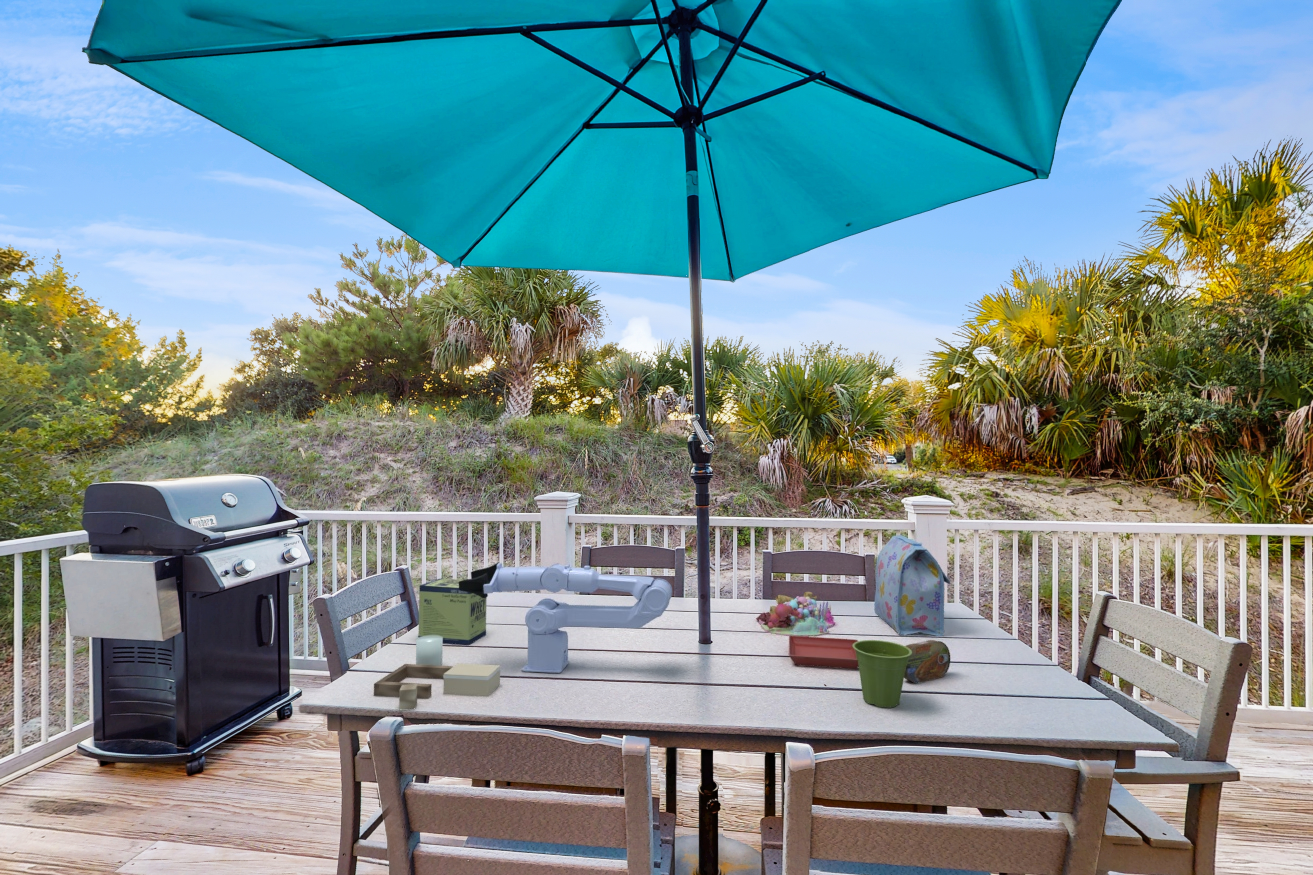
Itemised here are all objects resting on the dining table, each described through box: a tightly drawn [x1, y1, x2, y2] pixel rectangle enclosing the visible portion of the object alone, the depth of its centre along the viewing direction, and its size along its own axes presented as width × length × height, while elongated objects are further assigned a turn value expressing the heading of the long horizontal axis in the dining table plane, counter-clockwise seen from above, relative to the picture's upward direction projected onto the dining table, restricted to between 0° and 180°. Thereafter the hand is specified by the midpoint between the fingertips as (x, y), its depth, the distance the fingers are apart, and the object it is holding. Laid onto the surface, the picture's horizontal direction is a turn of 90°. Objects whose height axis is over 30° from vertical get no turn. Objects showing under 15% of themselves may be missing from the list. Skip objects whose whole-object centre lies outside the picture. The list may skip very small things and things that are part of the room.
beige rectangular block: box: [442, 663, 501, 697], centre depth 141 cm, size 10×7×4 cm
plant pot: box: [852, 639, 912, 709], centre depth 135 cm, size 12×12×11 cm
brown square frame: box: [373, 663, 455, 700], centre depth 143 cm, size 12×13×2 cm
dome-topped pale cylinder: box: [415, 635, 444, 666], centre depth 155 cm, size 6×6×7 cm
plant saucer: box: [788, 636, 859, 670], centre depth 164 cm, size 18×18×3 cm
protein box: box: [417, 577, 488, 646], centre depth 179 cm, size 10×16×16 cm
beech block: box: [398, 684, 418, 710], centre depth 131 cm, size 3×3×4 cm
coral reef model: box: [755, 591, 836, 637], centre depth 195 cm, size 25×24×9 cm
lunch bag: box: [873, 534, 951, 637], centre depth 194 cm, size 22×17×26 cm
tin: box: [904, 639, 951, 684], centre depth 149 cm, size 15×3×8 cm, turn 117°
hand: (465, 580), depth 158 cm, fingers open, 7 cm apart
